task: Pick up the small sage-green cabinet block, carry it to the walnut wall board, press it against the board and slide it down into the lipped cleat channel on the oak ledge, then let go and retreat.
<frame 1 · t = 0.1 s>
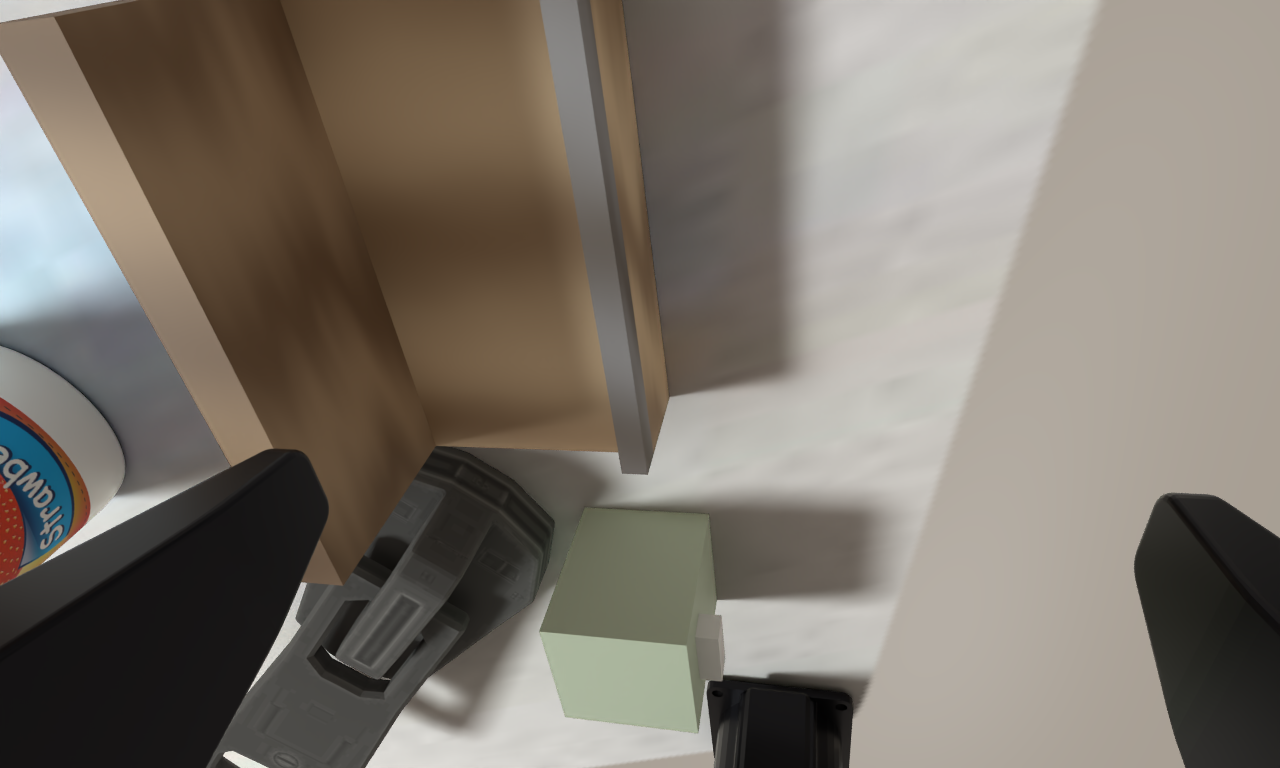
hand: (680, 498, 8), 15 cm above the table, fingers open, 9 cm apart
cabinet block: (652, 554, 30), on the table
fruit juice: (38, 420, 33), on the table
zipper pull: (388, 603, 36), on the table
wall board: (415, 214, 23), on the table
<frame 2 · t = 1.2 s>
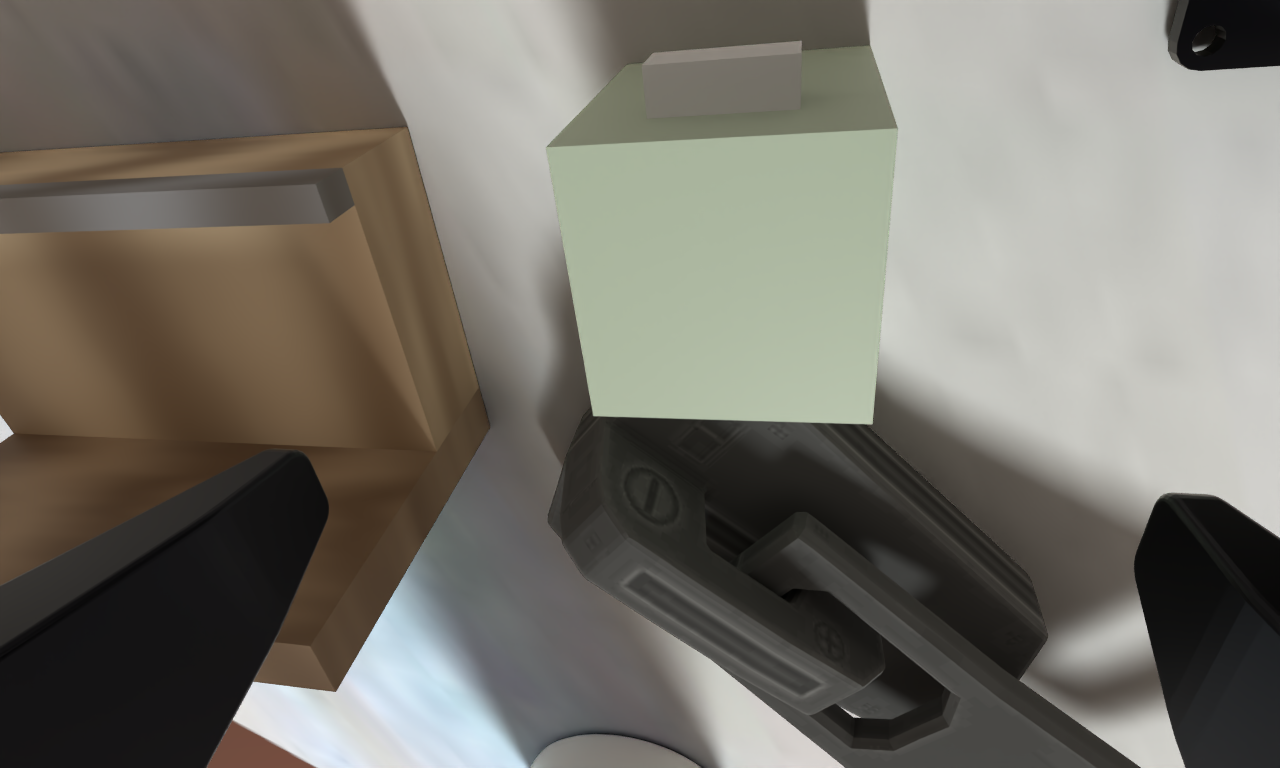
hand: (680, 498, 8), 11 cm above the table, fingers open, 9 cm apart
cabinet block: (747, 173, 17), on the table
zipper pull: (919, 603, 24), on the table
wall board: (273, 382, 23), on the table
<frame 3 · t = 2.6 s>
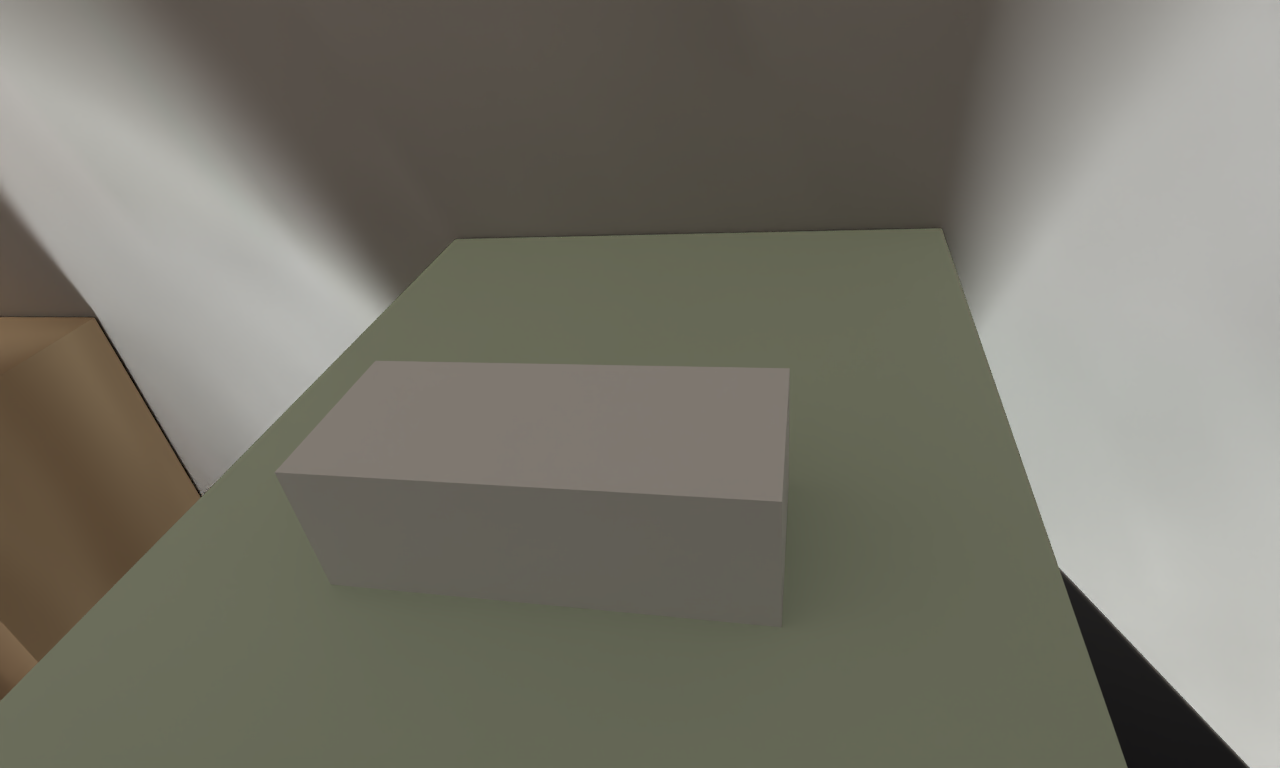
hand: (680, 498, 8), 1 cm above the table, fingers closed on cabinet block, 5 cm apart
cabinet block: (696, 428, 9), on the table, touching gripper
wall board: (9, 627, 15), on the table
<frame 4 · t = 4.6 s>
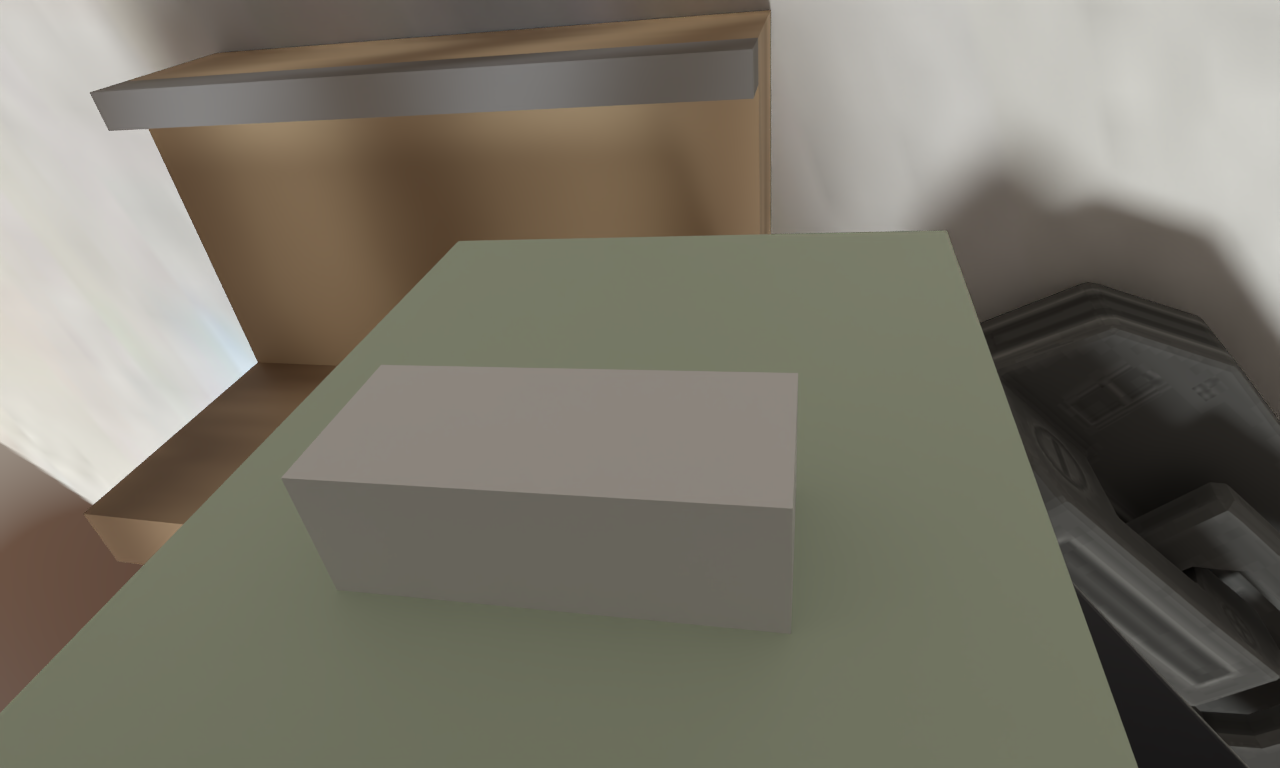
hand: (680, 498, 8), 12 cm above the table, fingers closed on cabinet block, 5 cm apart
cabinet block: (699, 430, 9), point 11 cm above the table, touching gripper
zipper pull: (1235, 590, 22), on the table
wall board: (527, 314, 21), on the table
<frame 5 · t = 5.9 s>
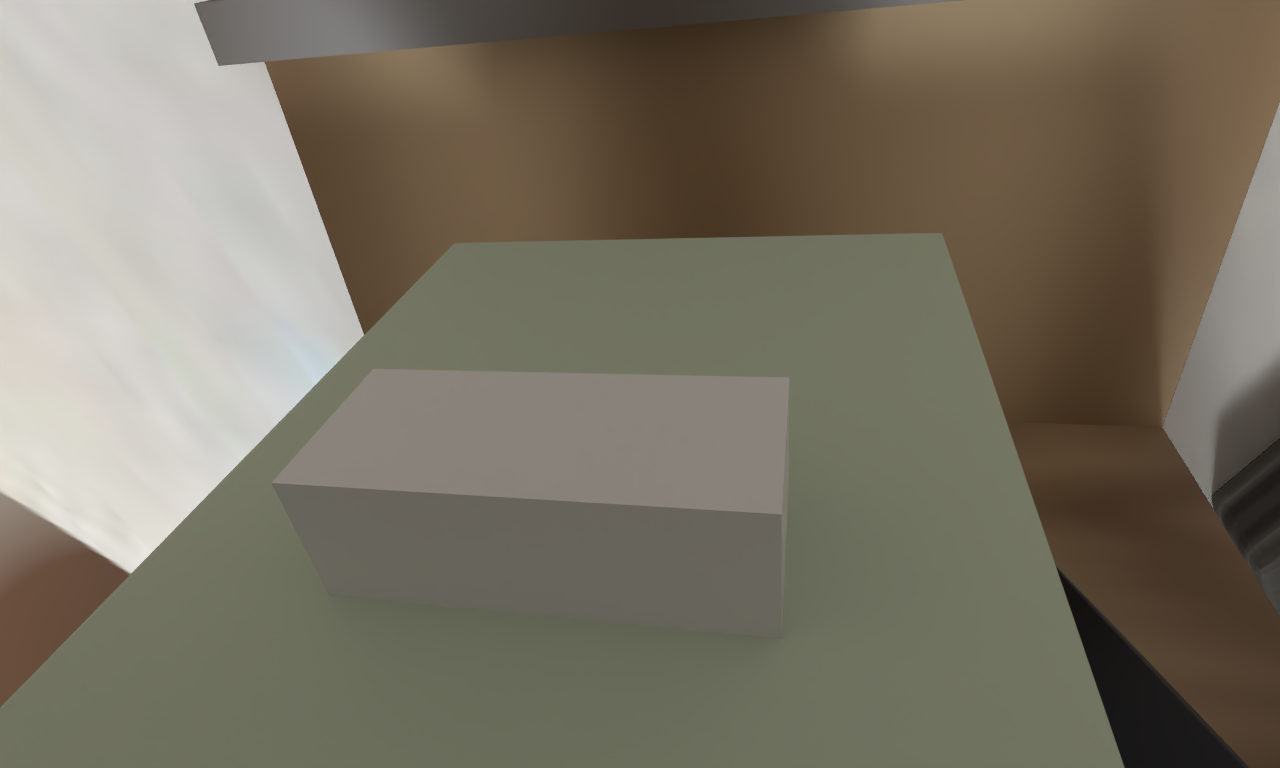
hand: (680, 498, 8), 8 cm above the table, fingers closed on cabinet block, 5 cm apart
cabinet block: (695, 432, 9), point 7 cm above the table, touching gripper
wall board: (744, 331, 16), on the table
when the fingers open (5 cm above the table, at t = 6.9 s): cabinet block stays where it is, resting on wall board.
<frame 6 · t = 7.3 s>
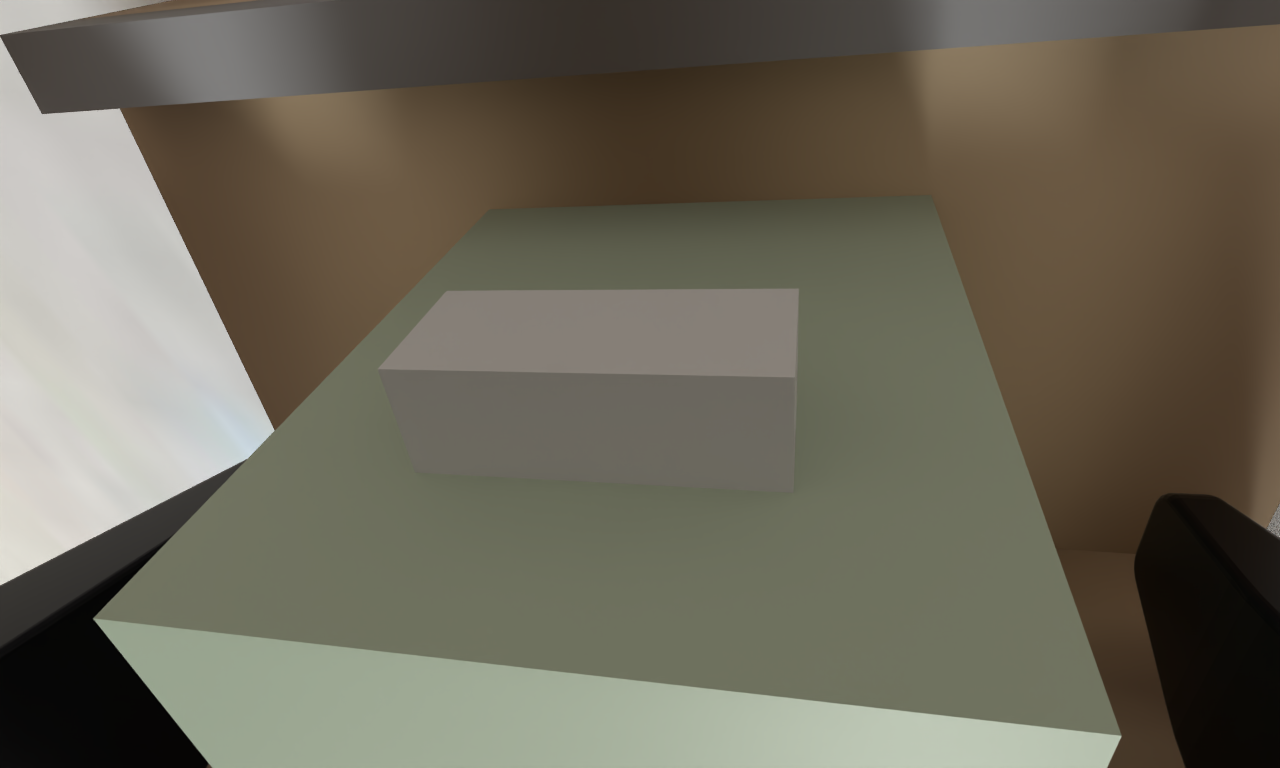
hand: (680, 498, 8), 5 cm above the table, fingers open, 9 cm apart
cabinet block: (707, 385, 10), point 3 cm above the table, touching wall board
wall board: (732, 409, 13), on the table
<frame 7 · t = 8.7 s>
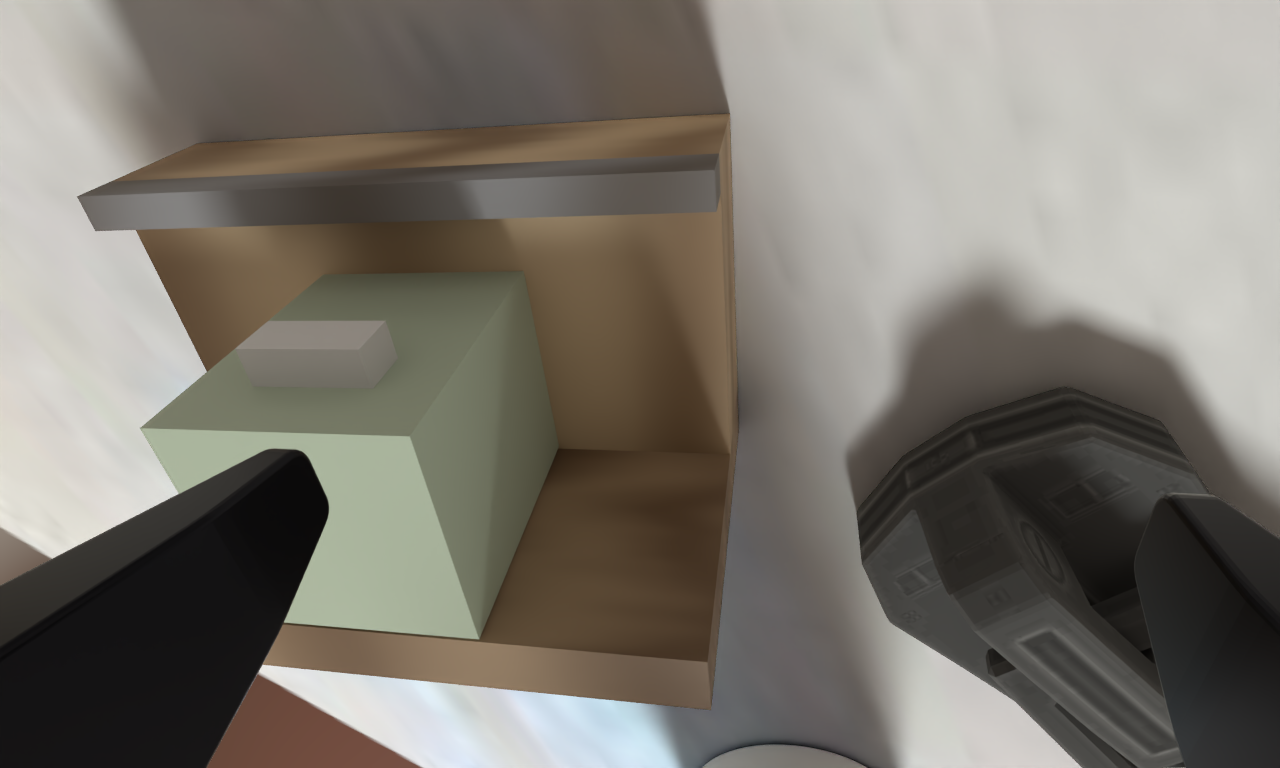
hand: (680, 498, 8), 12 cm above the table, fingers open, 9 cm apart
cabinet block: (446, 364, 18), point 3 cm above the table, touching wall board
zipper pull: (1175, 653, 24), on the table
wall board: (504, 383, 22), on the table
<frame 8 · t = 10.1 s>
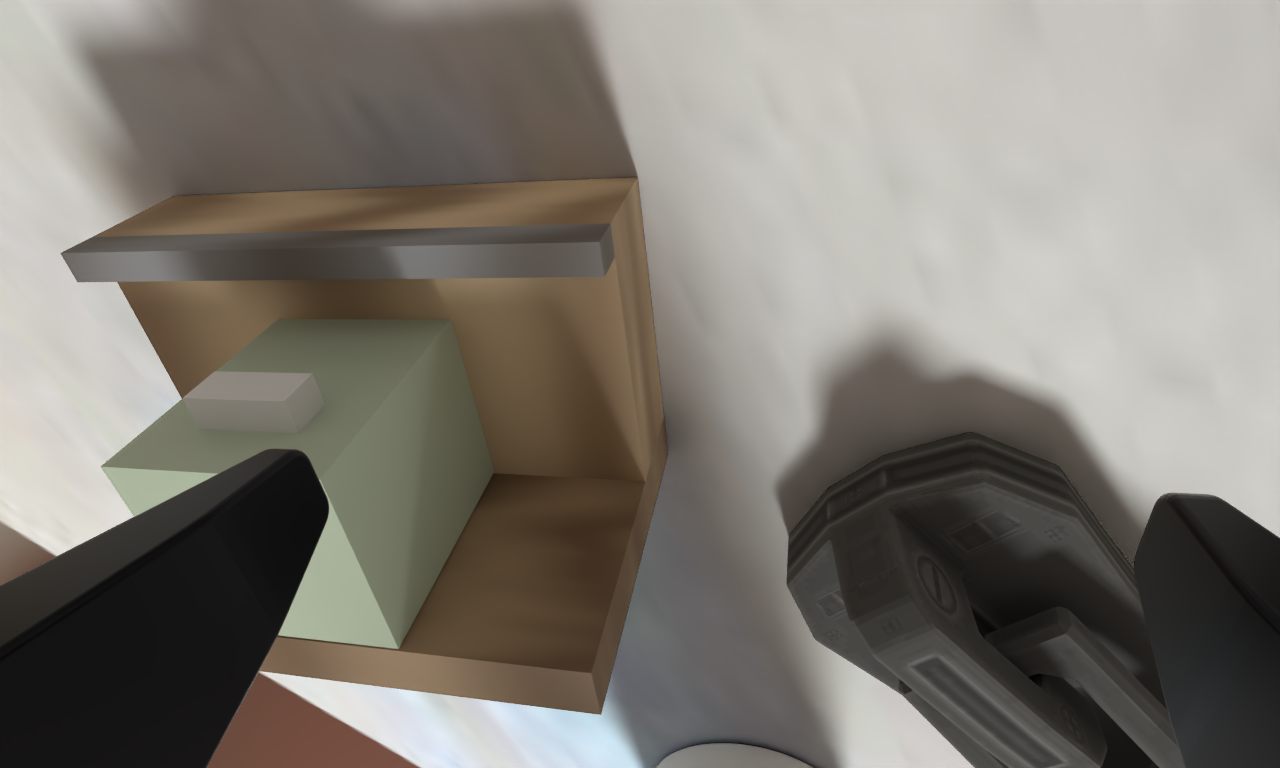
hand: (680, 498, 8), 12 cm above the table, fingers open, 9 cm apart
cabinet block: (390, 398, 20), point 3 cm above the table, touching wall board
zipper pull: (1088, 675, 26), on the table
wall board: (455, 409, 24), on the table
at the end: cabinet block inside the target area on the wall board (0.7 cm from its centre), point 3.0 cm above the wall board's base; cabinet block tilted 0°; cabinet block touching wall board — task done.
